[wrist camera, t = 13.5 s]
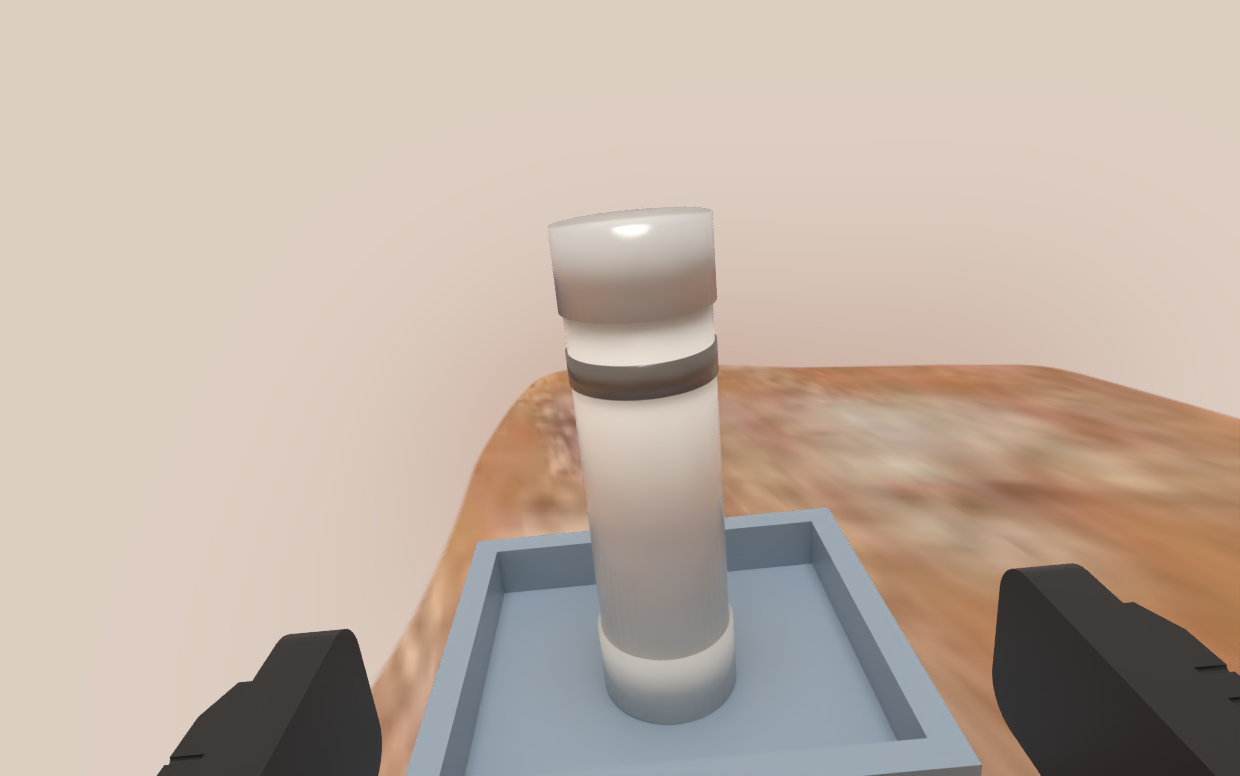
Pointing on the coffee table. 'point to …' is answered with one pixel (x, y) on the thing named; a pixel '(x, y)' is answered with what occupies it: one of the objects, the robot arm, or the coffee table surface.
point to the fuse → (650, 452)
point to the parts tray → (731, 735)
